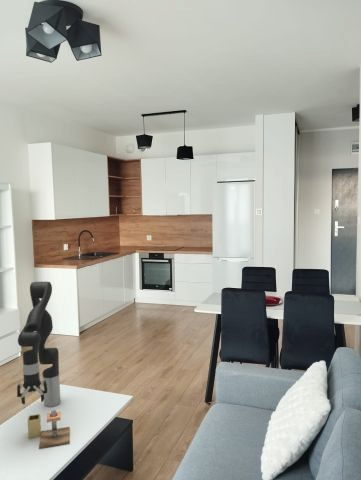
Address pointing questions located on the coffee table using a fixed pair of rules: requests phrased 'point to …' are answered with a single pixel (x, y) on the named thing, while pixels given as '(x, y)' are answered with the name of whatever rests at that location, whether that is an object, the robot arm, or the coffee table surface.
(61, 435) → the post stand
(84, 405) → the coffee table surface
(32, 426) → the sleeve
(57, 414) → the orange square ring
